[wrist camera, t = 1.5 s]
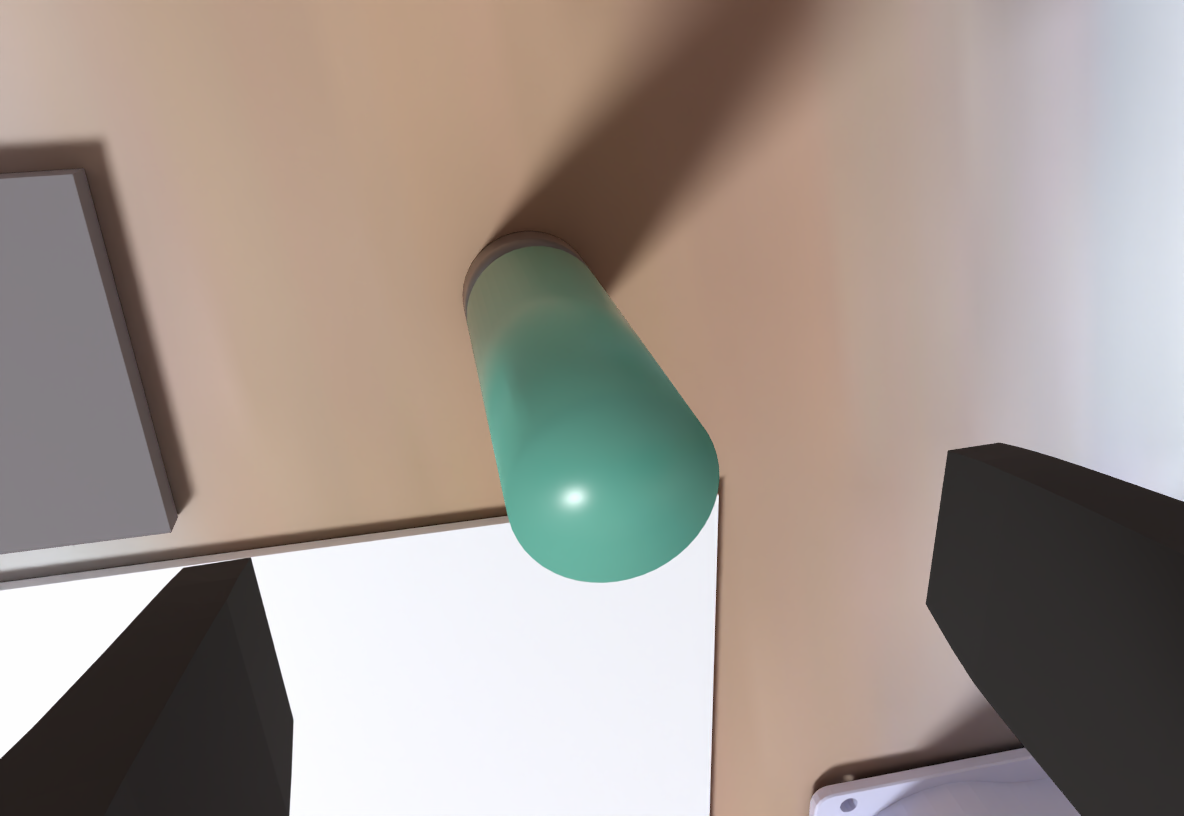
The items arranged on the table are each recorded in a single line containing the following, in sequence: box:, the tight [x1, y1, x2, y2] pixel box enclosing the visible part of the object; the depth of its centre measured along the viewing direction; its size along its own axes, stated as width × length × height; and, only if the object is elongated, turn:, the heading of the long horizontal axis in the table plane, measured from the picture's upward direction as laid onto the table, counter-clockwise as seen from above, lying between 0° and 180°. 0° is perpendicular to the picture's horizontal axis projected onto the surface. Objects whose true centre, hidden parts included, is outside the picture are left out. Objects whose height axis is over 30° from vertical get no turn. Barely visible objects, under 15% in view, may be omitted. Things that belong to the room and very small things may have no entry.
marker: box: [463, 231, 719, 583], centre depth 14 cm, size 3×3×8 cm
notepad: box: [0, 493, 719, 816], centre depth 21 cm, size 18×12×1 cm, turn 92°
